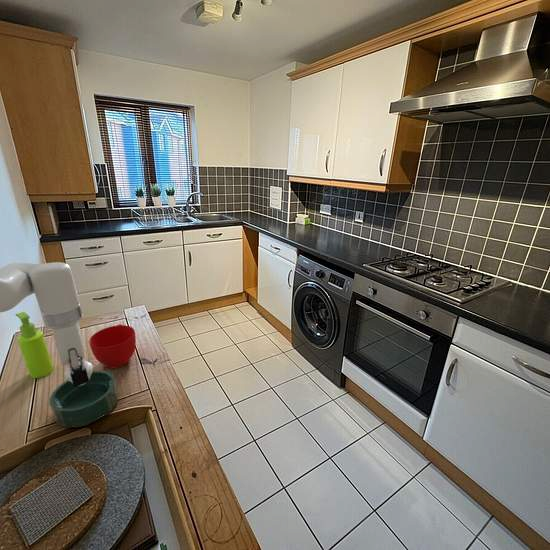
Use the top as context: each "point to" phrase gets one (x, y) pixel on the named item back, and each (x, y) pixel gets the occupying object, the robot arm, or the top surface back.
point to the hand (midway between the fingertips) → (80, 375)
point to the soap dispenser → (34, 348)
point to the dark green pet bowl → (84, 400)
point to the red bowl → (113, 345)
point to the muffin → (86, 365)
